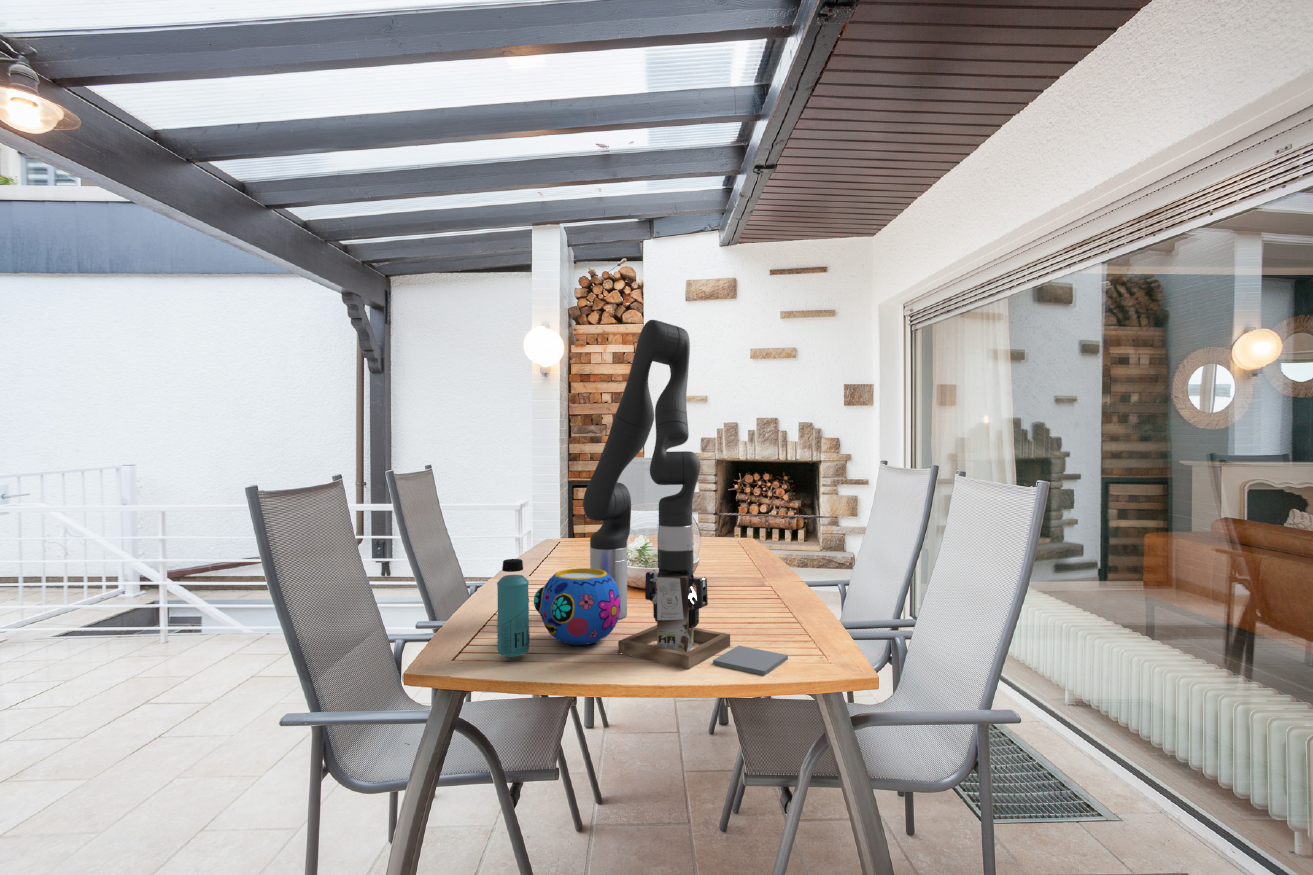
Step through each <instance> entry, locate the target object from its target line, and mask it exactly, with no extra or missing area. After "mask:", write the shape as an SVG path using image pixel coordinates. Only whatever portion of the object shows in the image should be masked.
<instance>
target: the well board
mask: <svg viewBox="0 0 1313 875" xmlns="http://www.w3.org/2000/svg"><path fill="white" fill-rule="evenodd" d="M655 641H657V624H656V625H654V626H653V625H652V626H651V627H649V628H646V629H644V630H641V631H639V632H636V633H634V634H632V635H629V636H626V637H625V638H622V639H620V640H618V642H617V645H618V648H617V653H618V654H620V653H622V654H621V655H624V654H625V656H629V657H633V656H635V658H637V657H638V658H639V659H642V658H643V660H645V661H652V662H656V663H660V664H664V665H668V666H673V667H678V668H682V669H686V670H691V669H692V668H693V667H696V666H697V665H699V664H701V663H702V662H704V661H705V660H708V659H710V658H711V657H714V656H715V655H717V654H718V653H720V652H722V651H723V650H725V649H728V648H730V647H731V634H730V633H726V632H720V631H716V630H715V631H714V630H710V629H704V628H699V627H694V628H693V642H695V643H699V644H700V643H701V644H700V645H698V646H696V647H694V648H692V649H690V651H688V652H681V651H676V650H672V649H667V648H662V647H657V645H654V644H653V645H652V644H651V643H652V642H655Z"/></svg>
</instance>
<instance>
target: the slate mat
mask: <svg viewBox="0 0 1313 875" xmlns="http://www.w3.org/2000/svg"><path fill="white" fill-rule="evenodd" d="M788 659H789V655H788V654H786V653H785V654H784V653H780V652H774V651H769V650H764V649H759V648H755V647H749V646H748V647H747V646H745V645H744V646H743V645H737V646H734V647H733V648H731V649H730V650H728V651H726V652H724V653H723V654H721V655H719V656H718V657H716V658H714V659H713V660H712V665H715V666H720V667H723V668H729V669H733V670H738V671H739V670H740V671H741V672H742V671H743V672H748V673H752V674H756V675H761V676H766V675H768V674H769V673H771V672H772V671H773V670H774V669H776V668H778V666H780V665H781V664H783V663H784V662H786V661H787V660H788Z"/></svg>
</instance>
